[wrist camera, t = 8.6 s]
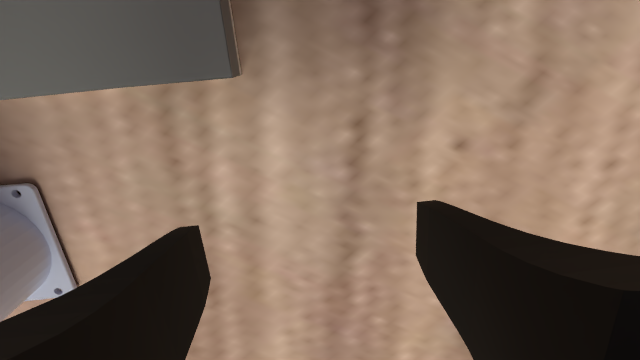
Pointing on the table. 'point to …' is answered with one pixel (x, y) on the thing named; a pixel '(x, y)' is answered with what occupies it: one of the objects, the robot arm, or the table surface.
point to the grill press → (107, 44)
